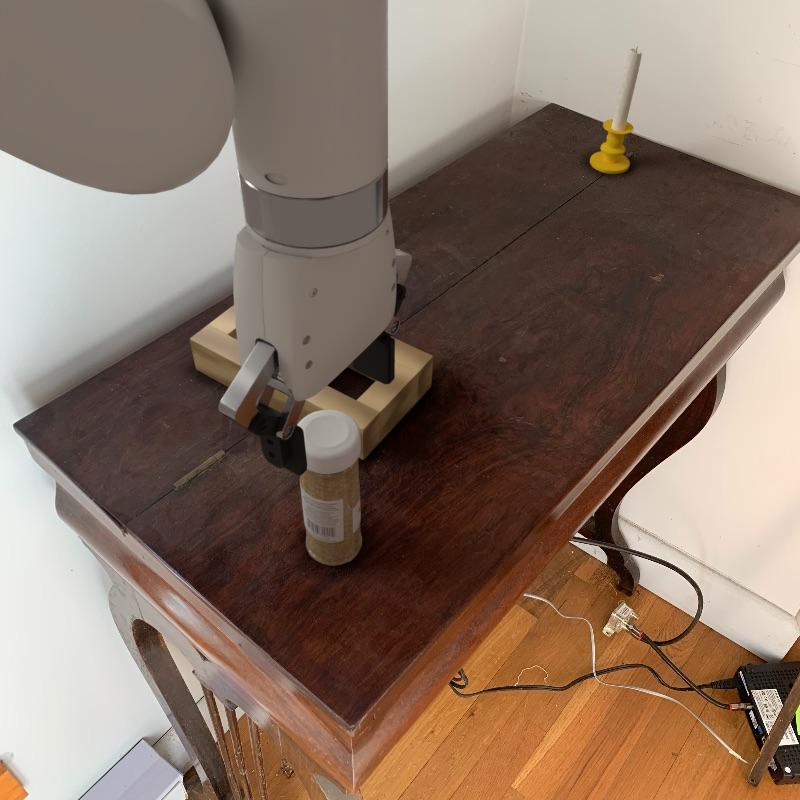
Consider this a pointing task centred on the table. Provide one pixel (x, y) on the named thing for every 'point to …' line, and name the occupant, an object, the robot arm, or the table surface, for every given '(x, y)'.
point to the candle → (619, 123)
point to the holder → (370, 411)
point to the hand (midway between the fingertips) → (331, 416)
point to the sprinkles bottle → (331, 487)
